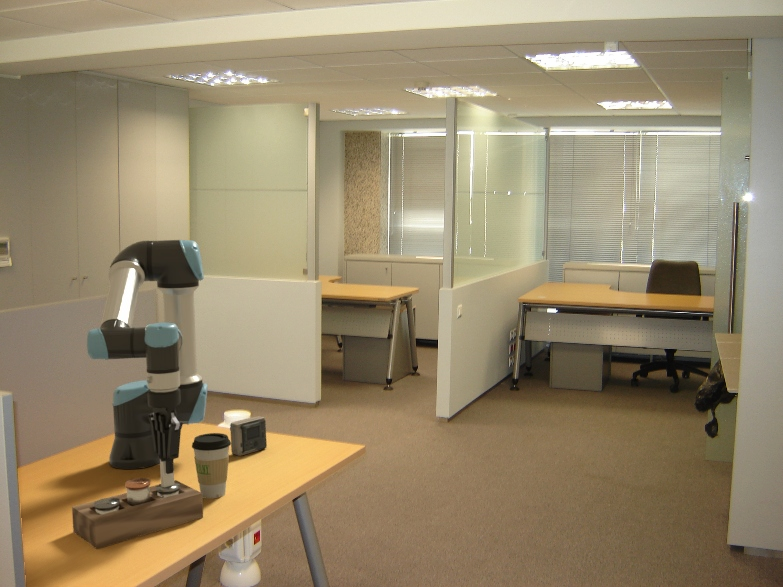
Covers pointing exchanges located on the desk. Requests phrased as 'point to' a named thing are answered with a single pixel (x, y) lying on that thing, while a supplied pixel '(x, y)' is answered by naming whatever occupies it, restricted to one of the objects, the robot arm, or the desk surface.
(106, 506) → the grey plunger front
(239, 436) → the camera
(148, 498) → the terracotta plunger
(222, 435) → the coffee cup
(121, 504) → the wooden jar holder
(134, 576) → the desk surface
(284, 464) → the desk surface
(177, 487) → the ball
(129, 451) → the robot arm
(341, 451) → the desk surface
